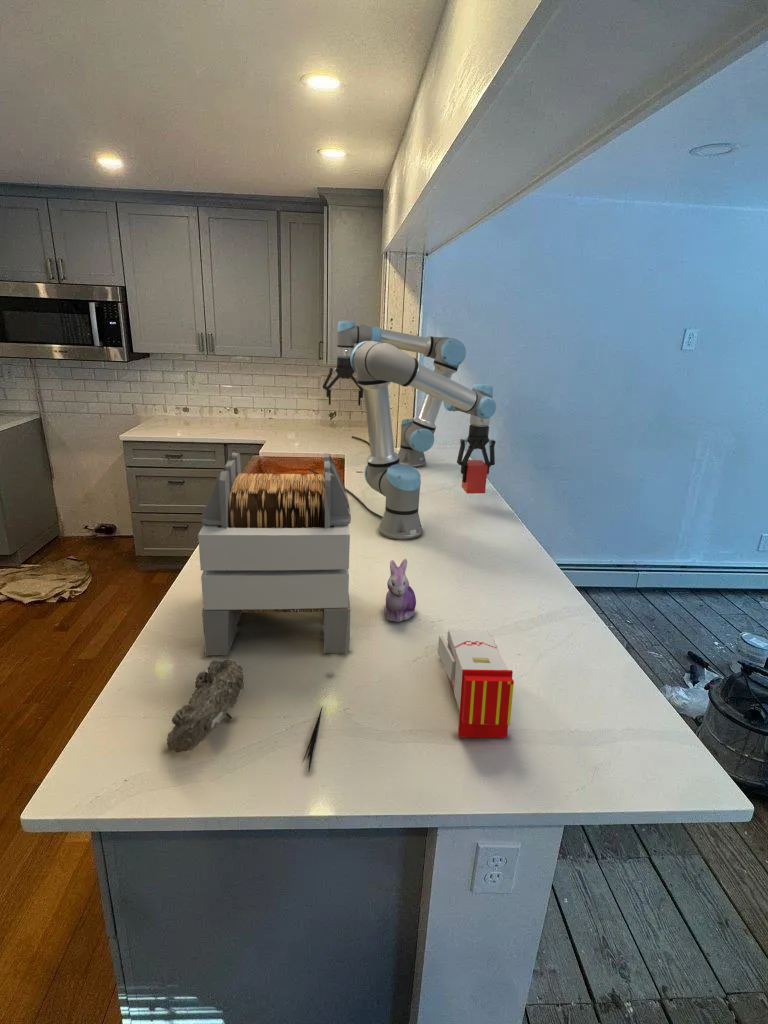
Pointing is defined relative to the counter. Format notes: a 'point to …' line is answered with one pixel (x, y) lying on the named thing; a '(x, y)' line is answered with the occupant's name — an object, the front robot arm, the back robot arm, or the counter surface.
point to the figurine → (399, 594)
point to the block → (475, 477)
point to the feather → (313, 740)
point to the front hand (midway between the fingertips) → (473, 481)
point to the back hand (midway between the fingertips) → (344, 404)
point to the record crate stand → (275, 551)
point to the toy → (478, 682)
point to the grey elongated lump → (206, 705)
